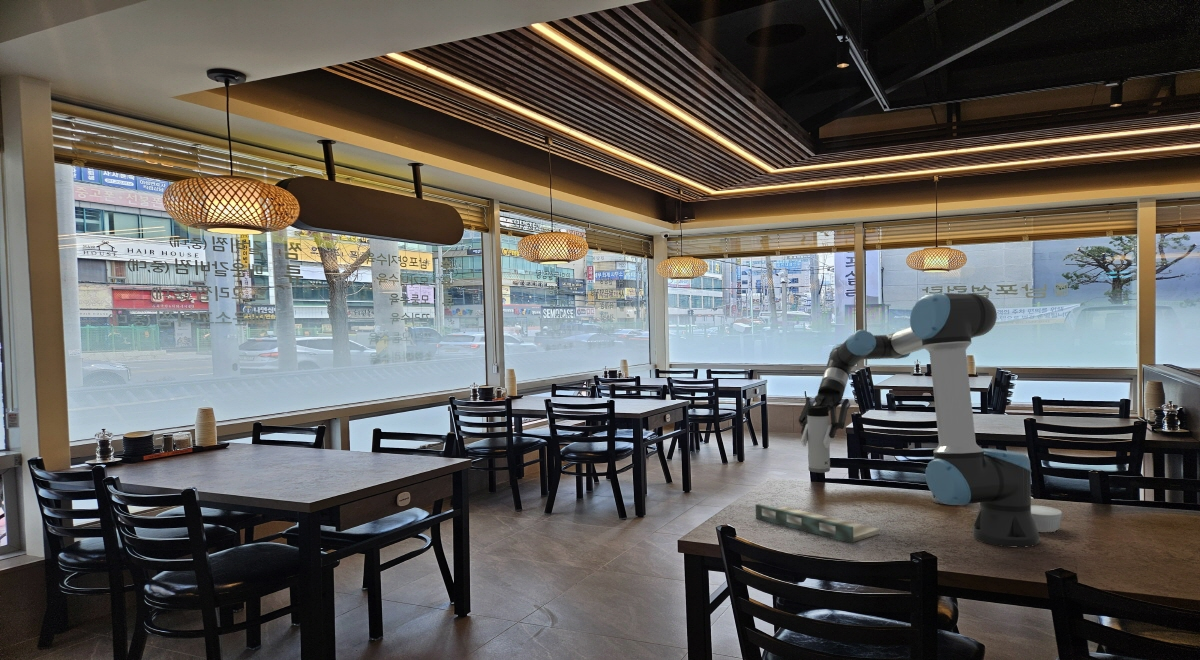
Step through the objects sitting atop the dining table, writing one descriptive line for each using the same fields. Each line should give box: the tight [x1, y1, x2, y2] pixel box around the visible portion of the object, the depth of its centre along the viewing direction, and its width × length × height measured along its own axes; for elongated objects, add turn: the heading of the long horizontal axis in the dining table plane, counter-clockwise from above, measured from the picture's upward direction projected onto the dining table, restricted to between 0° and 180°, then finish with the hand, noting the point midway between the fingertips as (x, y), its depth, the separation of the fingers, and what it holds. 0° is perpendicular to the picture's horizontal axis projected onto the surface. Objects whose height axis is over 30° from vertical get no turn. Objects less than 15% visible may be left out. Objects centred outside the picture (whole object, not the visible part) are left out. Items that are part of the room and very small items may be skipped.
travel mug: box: [807, 404, 831, 474], centre depth 222 cm, size 6×7×20 cm
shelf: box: [755, 503, 881, 543], centre depth 207 cm, size 32×13×4 cm, turn 37°
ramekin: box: [1031, 504, 1063, 532], centre depth 201 cm, size 11×11×5 cm
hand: (814, 444), depth 219 cm, fingers closed on travel mug, 6 cm apart
